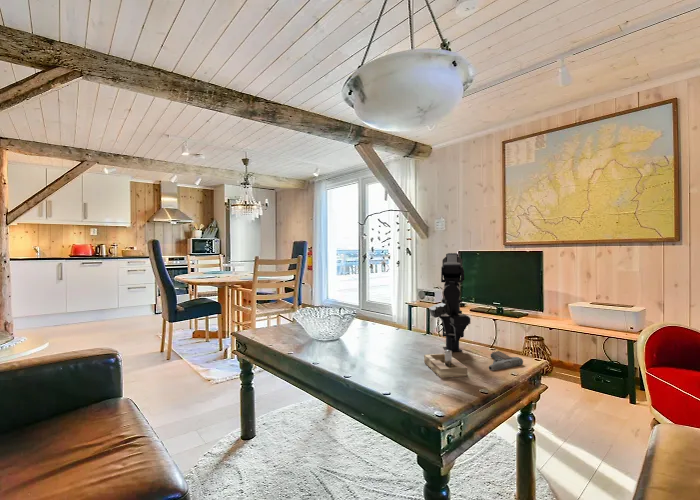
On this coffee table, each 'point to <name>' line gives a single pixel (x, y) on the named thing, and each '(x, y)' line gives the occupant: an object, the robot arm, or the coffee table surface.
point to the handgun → (504, 361)
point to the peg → (448, 358)
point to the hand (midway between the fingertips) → (452, 337)
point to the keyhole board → (441, 369)
